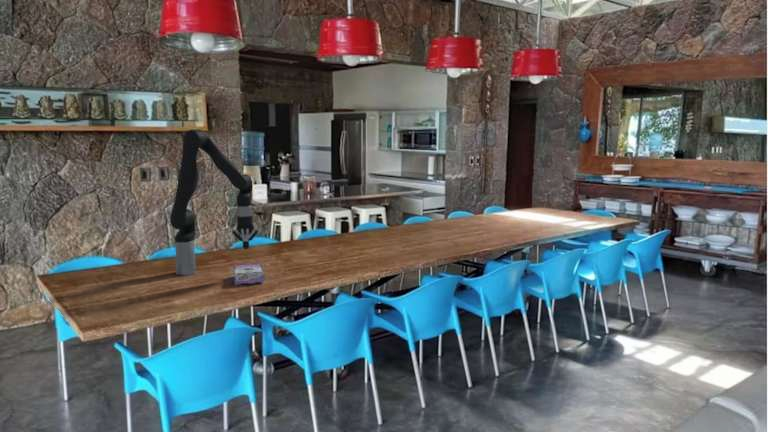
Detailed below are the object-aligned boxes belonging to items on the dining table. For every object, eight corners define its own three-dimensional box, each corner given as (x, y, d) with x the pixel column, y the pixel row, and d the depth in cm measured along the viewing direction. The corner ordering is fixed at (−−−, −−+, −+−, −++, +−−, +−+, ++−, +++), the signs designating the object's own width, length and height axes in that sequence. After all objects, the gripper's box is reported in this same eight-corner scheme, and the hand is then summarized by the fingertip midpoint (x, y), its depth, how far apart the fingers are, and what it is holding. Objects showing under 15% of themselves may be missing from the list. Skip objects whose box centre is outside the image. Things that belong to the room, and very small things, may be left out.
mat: (226, 282, 262) (226, 281, 262) (228, 277, 271) (228, 277, 271) (264, 280, 265) (264, 280, 265) (265, 276, 273) (265, 275, 273)
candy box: (234, 276, 272) (234, 285, 256) (233, 265, 271) (233, 273, 256) (262, 274, 276) (263, 283, 260) (261, 263, 275) (263, 271, 259)
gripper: (230, 216, 263) (231, 250, 266) (257, 215, 265) (259, 249, 268) (231, 213, 270) (233, 247, 273) (258, 213, 272) (260, 246, 275)
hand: (246, 248), depth 271 cm, fingers closed
